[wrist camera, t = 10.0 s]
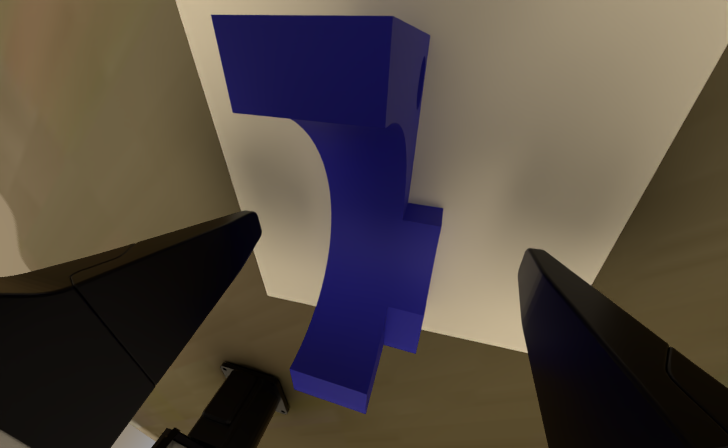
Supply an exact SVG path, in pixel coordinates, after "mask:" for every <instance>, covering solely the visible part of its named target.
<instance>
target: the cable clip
mask: <svg viewBox="0 0 728 448" xmlns="http://www.w3.org/2000/svg"><path fill="white" fill-rule="evenodd" d="M211 18H212V23H213V27H214V32H215V36H216V41H217V45H218V49H219V54H220V58H221V63H222V67H223V72H224V76H225V81H226V85H227V90H228V94H229V99H230V103H231V108H232V112H233V113H237V114H247V115H257V116H267V117H277V118H287V119H291V120H293V121H294V122H296V123H297V124H298V125H299V126H300V127H301V128H303V129H304V131H305V132H306V133H307V134H308V135H309V136H310V138H311V139H312V141H313V143H314V144H315V146H316V148H317V150H318V152H319V154H320V156H321V159H322V161H323V164H324V167H325V171H326V175H327V179H328V184H329V190H330V200H331V235H330V246H329V253H328V260H327V265H326V270H325V275H324V280H323V284H322V288H321V291H320V295H319V299H318V302H317V305H316V308H315V311H314V314H313V317H312V320H311V323H310V325H309V328H308V330H307V333H306V335H305V338H304V340H303V342H302V345H301V347H300V349H299V351H298V353H297V355H296V357H295V359H294V361H293V363H292V365H291V367H290V373H291V377H292V382H293V386H294V389H295V390H298V391H301V392H304V393H306V394H309V395H312V396H315V397H318V398H321V399H324V400H327V401H330V402H332V403H335V404H338V405H341V406H344V407H347V408H350V409H353V410H355V411H358V412H361V413H364V414H366V411H367V407H368V403H369V399H370V395H371V391H372V387H373V383H374V379H375V376H376V372H377V368H378V364H379V360H380V356H381V352H382V348H383V345H387V346H390V347H394V348H397V349H401V350H404V351H408V352H411V353H415V354H416V350H417V345H418V341H419V336H420V332H421V328H422V323H423V319H424V314H425V309H426V303H427V297H428V292H429V286H430V281H431V276H432V271H433V265H434V260H435V255H436V250H437V246H438V241H439V236H440V232H441V227H442V217H443V208H438V207H432V206H425V205H419V204H413V203H408V200H409V193H410V185H411V178H412V170H413V162H414V155H415V147H416V140H417V132H418V125H419V117H420V110H421V102H422V95H423V87H424V80H425V72H426V65H427V57H428V50H429V42H430V35H429V34H427V33H425V32H423V31H421V30H419V29H417V28H415V27H414V26H412V25H410V24H408V23H406V22H404V21H402V20H400V19H398V18H396V17H394V16H345V15H211Z"/></svg>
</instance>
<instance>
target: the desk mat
mask: <svg viewBox="0 0 728 448" xmlns="http://www.w3.org/2000/svg"><path fill="white" fill-rule="evenodd" d="M176 4H177V7H178V10H179V13H180V16H181V20H182V23H183V26H184V29H185V32H186V36H187V39H188V42H189V45H190V48H191V52H192V55H193V58H194V61H195V64H196V68H197V71H198V74H199V77H200V80H201V84H202V87H203V90H204V93H205V96H206V100H207V103H208V106H209V109H210V112H211V116H212V119H213V122H214V125H215V128H216V132H217V135H218V138H219V141H220V144H221V148H222V151H223V154H224V157H225V161H226V164H227V167H228V170H229V173H230V177H231V180H232V183H233V186H234V189H235V193H236V196H237V199H238V202H239V205H240V209H241V211H244V210H247V211H254V212H256V213H257V215H258V218H259V222H260V225H261V229H262V235H261V237H260V239H259V241H258V243H257V244H256V246H255V248H254V249H253V250H254V253H255V257H256V260H257V263H258V266H259V269H260V273H261V276H262V279H263V282H264V285H265V289H266V292H267V295H268V296H272V297H276V298H281V299H286V300H290V301H295V302H299V303H304V304H308V305H313V306H316V305H317V302H318V299H319V295H320V291H321V288H322V284H323V280H324V275H325V270H326V265H327V260H328V253H329V246H330V235H331V200H330V190H329V184H328V179H327V175H326V171H325V167H324V164H323V161H322V159H321V156H320V154H319V152H318V150H317V148H316V146H315V144H314V143H313V141H312V139H311V138H310V136H309V135H308V134H307V133H306V132H305V131H304V129H303V128H301V127H300V126H299V125H298V124H297V123H296V122H294V121H293V120H291V119H287V118H277V117H267V116H257V115H247V114H237V113H233V112H232V108H231V103H230V99H229V94H228V90H227V85H226V81H225V76H224V72H223V67H222V63H221V58H220V54H219V49H218V45H217V41H216V36H215V32H214V27H213V23H212V18H211V15H345V16H394V17H396V18H398V19H400V20H402V21H404V22H406V23H408V24H410V25H412V26H414V27H415V28H417V29H419V30H421V31H423V32H425V33H427V34H429V35H430V42H429V50H428V57H427V65H426V72H425V80H424V87H423V95H422V102H421V110H420V117H419V125H418V132H417V140H416V147H415V155H414V162H413V170H412V178H411V185H410V193H409V200H408V203H413V204H419V205H425V206H432V207H438V208H443V217H442V227H441V232H440V236H439V241H438V246H437V250H436V255H435V260H434V265H433V271H432V276H431V281H430V286H429V292H428V297H427V303H426V309H425V314H424V319H423V323H422V328H421V330H426V331H430V332H435V333H440V334H444V335H449V336H453V337H458V338H462V339H467V340H471V341H476V342H480V343H485V344H489V345H494V346H498V347H503V348H507V349H512V350H517V351H521V352H526V353H528V352H527V347H526V342H525V338H524V333H523V328H522V322H521V312H520V300H519V288H518V270H519V267H520V264H521V261H522V259H523V256H524V253H525V251H526V250H527V249H528V248H534V249H542V250H545V251H546V252H547V253H549V254H550V255H551V256H553V257H554V258H555V259H557V260H558V261H559V262H561V263H562V264H563V265H565V266H566V267H567V268H569V269H570V270H571V271H573V272H574V273H575V274H576V275H578V276H579V277H580V278H582V279H583V280H584V281H586V282H587V283H588V284H590V285H592V283H593V281H594V279H595V278H596V276H597V274H598V272H599V271H600V269H601V267H602V265H603V264H604V262H605V260H606V258H607V256H608V255H609V253H610V251H611V249H612V248H613V246H614V244H615V242H616V241H617V239H618V237H619V235H620V233H621V232H622V230H623V228H624V226H625V225H626V223H627V221H628V219H629V218H630V216H631V214H632V212H633V210H634V209H635V207H636V205H637V203H638V202H639V200H640V198H641V196H642V195H643V193H644V191H645V189H646V188H647V186H648V184H649V182H650V180H651V179H652V177H653V175H654V173H655V172H656V170H657V168H658V166H659V165H660V163H661V161H662V159H663V157H664V156H665V154H666V152H667V150H668V149H669V147H670V145H671V143H672V142H673V140H674V138H675V136H676V135H677V133H678V131H679V129H680V127H681V126H682V124H683V122H684V120H685V119H686V117H687V115H688V113H689V112H690V110H691V108H692V106H693V104H694V103H695V101H696V99H697V97H698V96H699V94H700V92H701V90H702V89H703V87H704V85H705V83H706V82H707V80H708V78H709V76H710V74H711V73H712V71H713V69H714V67H715V66H716V64H717V62H718V60H719V59H720V57H721V55H722V53H723V51H724V50H725V48H726V46H727V44H728V0H176Z"/></svg>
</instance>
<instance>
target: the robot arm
mask: <svg viewBox="0 0 728 448" xmlns="http://www.w3.org/2000/svg"><path fill="white" fill-rule="evenodd" d="M261 235H262V229H261V225H260V222H259V218H258V215H257V213H256V212H254V211H247V210H244V211H241V212H237V213H234V214H231V215H227V216H224V217H221V218H217V219H214V220H211V221H207V222H204V223H201V224H197V225H194V226H191V227H187V228H184V229H181V230H177V231H174V232H171V233H167V234H164V235H161V236H157V237H154V238H151V239H147V240H144V241H140V242H137V243H136V244H135V243H134V244H130V245H127V246H124V247H120V248H117V249H113V250H110V251H106V252H103V253H99V254H96V255H92V256H88V257H85V258H81V259H77V260H74V261H70V262H66V263H62V264H58V265H54V266H51V267H47V268H43V269H39V270H35V271H32V272H28V273H24V274H19V275H14V276H8V277H0V448H111V446H112V445H113V444H114V442H115V441H116V440H117V438H118V437H119V436H120V434H121V432H122V431H123V430H124V429H125V427H126V426H127V425H128V423H129V422H130V421H131V419H132V418H133V417H134V415H135V414H136V412H137V411H138V410H139V408H140V407H141V406H142V404H143V403H144V402H145V400H146V399H147V397H148V396H149V395H150V393H151V392H152V391H153V389H154V388H155V385H157V383H158V382H159V381H160V379H161V378H162V377H163V375H164V374H165V373H166V371H167V370H168V369H169V367H170V366H171V364H172V363H173V362H174V360H175V359H176V358H177V356H178V355H179V354H180V352H181V351H182V350H183V348H184V347H185V345H186V344H187V343H188V341H189V340H190V339H191V337H192V336H193V335H194V333H195V332H196V330H197V329H198V328H199V326H200V325H201V324H202V322H203V321H204V320H205V318H206V317H207V316H208V314H209V313H210V311H211V310H212V309H213V307H214V306H215V305H216V303H217V302H218V301H219V299H220V298H221V297H222V295H223V294H224V292H225V291H226V290H227V288H228V287H229V286H230V284H231V283H232V282H233V280H234V279H235V278H236V276H237V275H238V273H239V272H240V271H241V269H242V268H243V266H244V264H245V263H246V261H247V259H248V258H249V256H250V254H251V253H252V251H253V249H254V248H255V246H256V244H257V243H258V241H259V239H260V237H261ZM518 288H519V300H520V312H521V322H522V328H523V333H524V338H525V342H526V347H527V352H528V356H529V361H530V365H531V370H532V374H533V379H534V383H535V388H536V393H537V397H538V402H539V406H540V411H541V415H542V420H543V424H544V429H545V434H546V438H547V443H548V447H549V448H728V388H727V387H725V386H724V385H723V384H721V383H720V382H718V381H717V380H716V379H714V378H713V377H712V376H710V375H709V374H708V373H706V372H705V371H704V370H702V369H701V368H699V367H698V366H697V365H695V364H694V363H693V362H691V361H690V360H689V359H687V358H686V357H685V356H684V355H682V354H681V353H680V352H678V351H677V350H676V349H674V348H673V347H669V345H668V343H666V342H665V341H664V340H662V339H661V338H660V337H658V336H657V335H656V334H654V333H653V332H652V331H650V330H649V329H648V328H646V327H645V326H644V325H642V324H641V323H640V322H639V321H637V320H636V319H635V318H633V317H632V316H631V315H629V314H628V313H627V312H625V311H624V310H623V309H621V308H620V307H619V306H617V305H616V304H615V303H613V302H612V301H611V300H609V299H608V298H607V297H606V296H604V295H603V294H602V293H600V292H599V291H598V290H596V289H595V288H594V287H592V286H591V285H590V284H588V283H587V282H586V281H584V280H583V279H582V278H580V277H579V276H578V275H576V274H575V273H574V272H573V271H571V270H570V269H569V268H567V267H566V266H565V265H563V264H562V263H561V262H559V261H558V260H557V259H555V258H554V257H553V256H551V255H550V254H549V253H547V252H546V251H545V250H542V249H534V248H528V249H527V250H526V251H525V253H524V256H523V259H522V261H521V264H520V267H519V270H518ZM220 368H221V370H222V371H223V373H224V375H225V377H226V380H225V381H224V383H223V384H222V385H221V387H220V388H219V390H218V391H217V393H216V394H215V395H214V397H213V398H212V400H211V401H210V402H209V404H208V405H207V407H206V408H205V409H204V411H203V413H202V415H201V417H200V418H199V420H198V421H197V423H196V424H195V425H194V427H193V428H192V430H191V431H190V432H189V434H188V435H187V436H186V435H184V434H182V433H181V432H180V430H178V429H177V428H174V429H173V430H171V429H168V428H166V430H165V431H164V432H163V433H162V435H161V436H160V437H159V439H158V440H157V441H156V442H155V444H154V445H153V446H152V448H257V446H258V444H259V442H260V440H261V438H262V436H263V434H264V432H265V430H266V428H267V426H268V424H269V422H270V420H271V418H272V416H273V414H274V412H275V411H277V412H280V413H283V414H287V413H288V411H289V407H288V405H287V402H286V399H285V397H284V394H283V391H282V388H281V386H280V383H279V381H278V380H277V379H276V378H274V377H271V376H268V375H264V374H261V373H258V372H255V371H251V370H248V369H245V368H242V367H238V366H235V365H232V364H229V363H225V362H224V363H223V364H222V365H221V367H220Z"/></svg>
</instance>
